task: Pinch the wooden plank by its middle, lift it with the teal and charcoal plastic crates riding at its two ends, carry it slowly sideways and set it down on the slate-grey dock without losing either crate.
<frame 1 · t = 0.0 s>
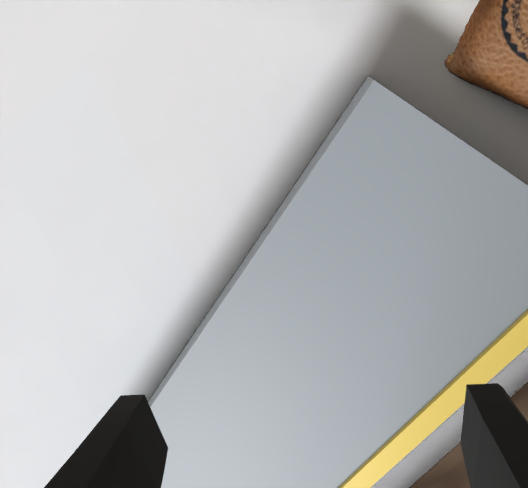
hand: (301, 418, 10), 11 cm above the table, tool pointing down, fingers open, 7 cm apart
wooden plank: (470, 483, 25), on the table, touching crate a, crate b
dock: (278, 397, 24), on the table
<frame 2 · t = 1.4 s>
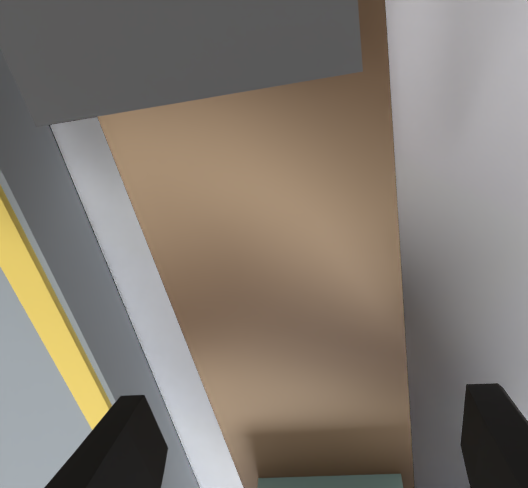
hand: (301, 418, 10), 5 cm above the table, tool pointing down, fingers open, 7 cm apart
wooden plank: (297, 249, 15), on the table, touching crate b
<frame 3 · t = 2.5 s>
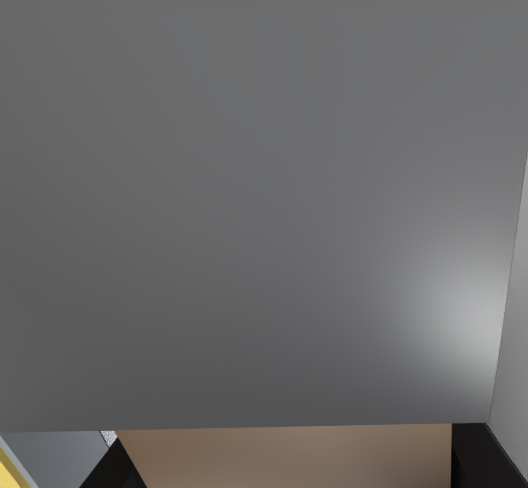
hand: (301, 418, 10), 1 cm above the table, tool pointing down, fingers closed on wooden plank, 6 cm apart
crate b: (188, 84, 5), point 3 cm above the table, touching wooden plank
wooden plank: (296, 327, 11), on the table, touching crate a, crate b, gripper
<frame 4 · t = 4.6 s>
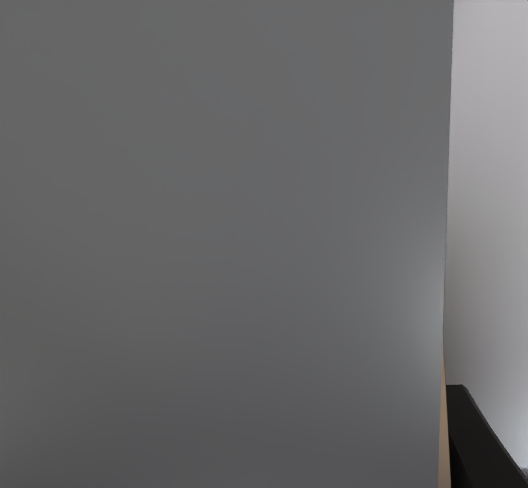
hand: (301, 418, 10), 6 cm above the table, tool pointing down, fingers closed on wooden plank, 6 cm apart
crate b: (168, 177, 5), point 8 cm above the table, touching wooden plank
wooden plank: (294, 331, 11), point 4 cm above the table, touching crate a, crate b, gripper
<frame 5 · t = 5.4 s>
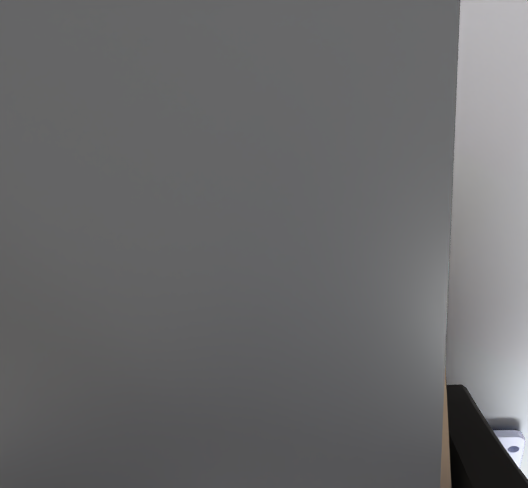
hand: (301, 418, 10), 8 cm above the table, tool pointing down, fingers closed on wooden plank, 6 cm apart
crate b: (170, 177, 5), point 11 cm above the table, touching wooden plank
wooden plank: (294, 331, 11), point 7 cm above the table, touching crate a, crate b, gripper
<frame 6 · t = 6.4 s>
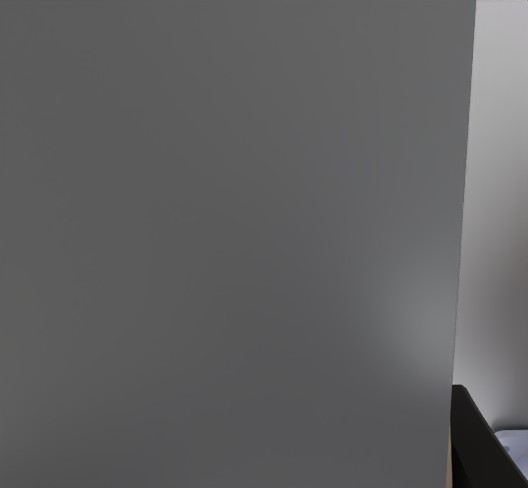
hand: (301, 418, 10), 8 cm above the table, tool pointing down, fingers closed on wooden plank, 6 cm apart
crate b: (174, 175, 5), point 11 cm above the table, touching wooden plank
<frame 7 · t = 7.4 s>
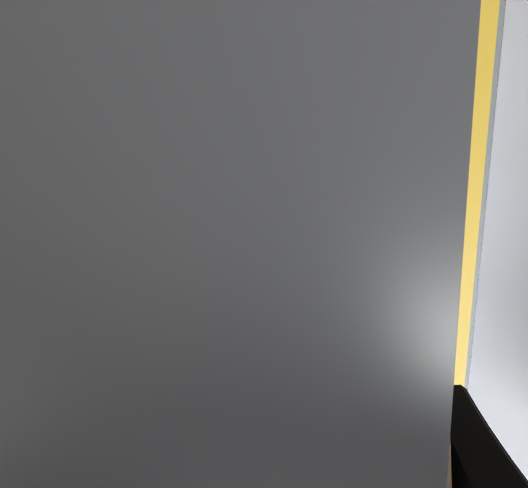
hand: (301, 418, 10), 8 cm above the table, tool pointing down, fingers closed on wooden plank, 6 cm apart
crate b: (175, 174, 5), point 11 cm above the table, touching wooden plank
dock: (307, 231, 17), on the table
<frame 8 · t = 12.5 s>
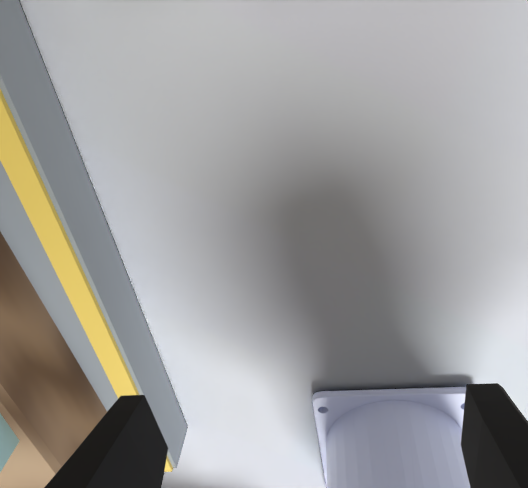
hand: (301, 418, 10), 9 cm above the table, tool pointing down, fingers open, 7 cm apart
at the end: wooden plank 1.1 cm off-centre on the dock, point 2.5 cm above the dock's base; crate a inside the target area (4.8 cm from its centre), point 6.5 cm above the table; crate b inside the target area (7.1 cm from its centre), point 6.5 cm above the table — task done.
